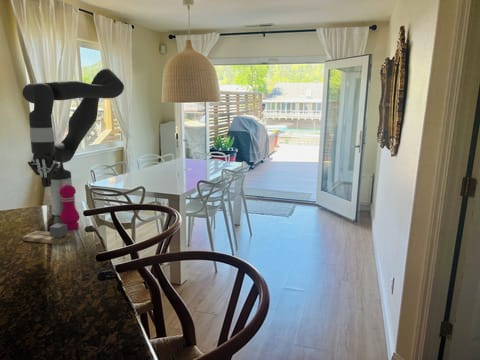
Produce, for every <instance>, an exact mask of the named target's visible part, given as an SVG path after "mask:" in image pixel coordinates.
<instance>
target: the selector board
mask: <svg viewBox="0 0 480 360" xmlns="http://www.w3.org/2000/svg"><path fill="white" fill-rule="evenodd" d="M71 239H73V233H68V234H66V235H64V236H62V237H60V238H56V237H50V231H45V230H34V231H33V232H30V233H28V234H26V235H24V236H22V240H23V241H24V242H25V241H27V242H33V243H34V242H36V243H43V244H53V245H62V244H64V243H65V242H67V241H69V240H71Z"/></svg>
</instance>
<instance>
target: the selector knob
mask: <svg viewBox="0 0 480 360" xmlns="http://www.w3.org/2000/svg"><path fill="white" fill-rule="evenodd" d="M49 232H50V237H56V238H60V237H62V236H64V235H66V234H69V233H68V230H67V224H63V223H62V222H61V223H60V222H59V223H58V222H57V223H55V224H52V225H51V226H49Z"/></svg>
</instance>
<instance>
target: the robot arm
mask: <svg viewBox="0 0 480 360" xmlns="http://www.w3.org/2000/svg"><path fill="white" fill-rule="evenodd" d="M124 90H125V85H124V83H123V82H122V81H121V79H120V78H119V77H118V76H117V74H115V73H114V72H113V71H112V70H111V69H110V68H105V67H104V68H103V69H100V70H99V71H98V72H97V73H96V74H95V75H94V77H93V79H92V81H91V83H89V82H86V81H85V82H84V81H80V80H76V79H65V80H57V81H52V82H34V83H33V82H31V83H28V84H26V85H24V86H23V89H22V92H21V93H22V97H23V98H24V99H25V100H26V101H27V102H28V103H30V104H33V110H32V111H30V112H29V114H28V115H29V116H28V120H29V121H28V122H29V137H30V138H29V139H30V147H31V153H32V154H33V157H32V160H30V161H28V162H27V164H28V165H29V167H30V168H31V170H32V171H33V172H34V174H35V175H36V176H39V177H40V178H41V185H42V187H43V188H50V189H49V191H50V201H51V209H52V211H51V212H52V215H53V216H56V217H60V216H61V213H62V210H63V201H62V199H61V198H62V196H61V195H60V193H59V191H60V188H61V187H62V186H65V182H69V185H71V186H73V182H72V172H71V171H70V170H67V169H65V168H64V163H68V162H69V161H71V160H72V159H73V157H74V156H75V154H76V152H77V150H78V148H79V146H80V144H81V143H82V141H83V140H84V139H85V137H86V136H87V133H89V131H90V130H91V129H92V127H93V126H94V124H95V122H96V121H97V119H98V111H99V101H100V99H115V98H118V97H119V96H120V95H122V93H123V92H124ZM75 99H82V100H81V101H80V103H79V105H77V107H76V109H75V110H74V112H73V113H72V114H71V116H70V118H69V120H68V132H67V134H66V135H65V137H64V138H63V140H62V141H61V142H59V143H55V134H54V129H53V121H52V114H53V111H54V110H53V108H54V101H68V100H75ZM74 196H75V197H76V195H74ZM74 206H75V208H76V199H75V200H74Z"/></svg>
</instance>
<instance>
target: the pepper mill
mask: <svg viewBox="0 0 480 360" xmlns="http://www.w3.org/2000/svg"><path fill="white" fill-rule="evenodd" d="M76 191H77V190H76V188H75V187H74V186H73V185H72V186H71V185H69V182H65V186H62V187H61V188H60V191H59V193H60V195H61V196H62V198H61V199H62V201H63V210H62V213H61V216H59V217H60V219H59V220H60V222H61V223H62V224H67V231H73V230H77V229H79V226H80V225H79V224H80V223H79V222H78V221H79V220H80V214H79V212H78V210H77V209H76V208H75V207H76V205H75V206H74V200H75V201H76V198H75V197H76V195H75V194H76ZM74 195H75V196H74Z"/></svg>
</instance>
